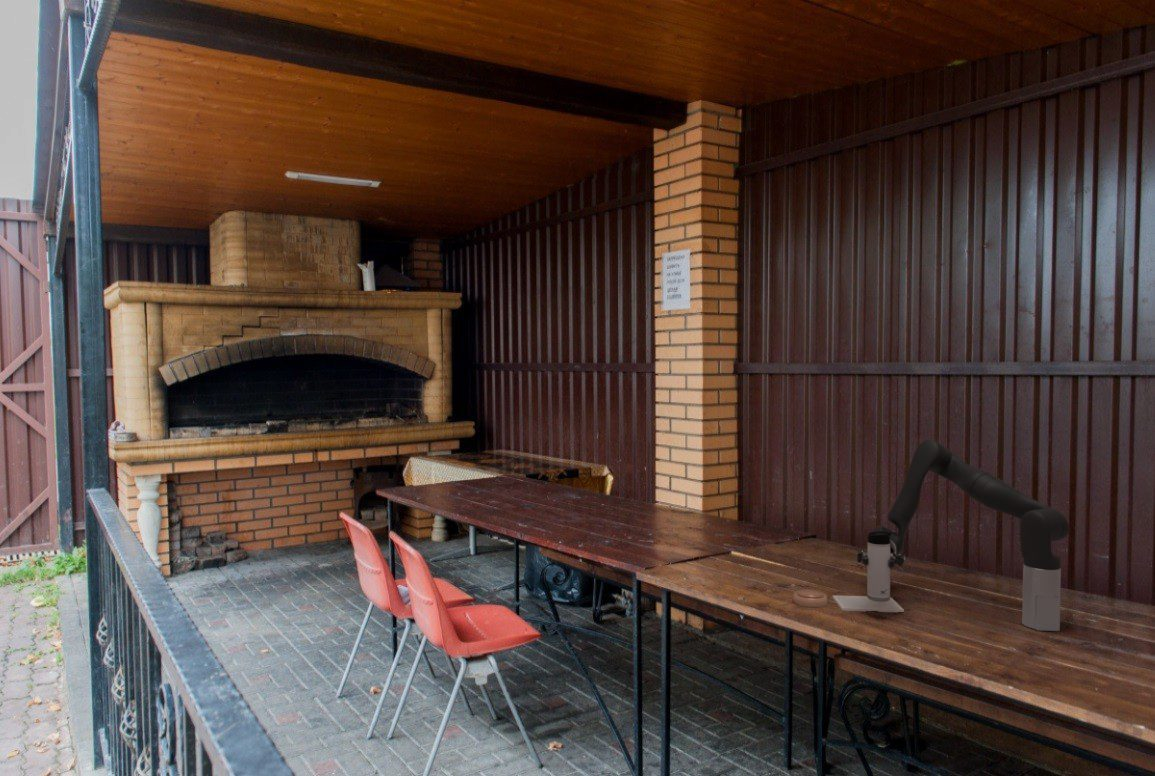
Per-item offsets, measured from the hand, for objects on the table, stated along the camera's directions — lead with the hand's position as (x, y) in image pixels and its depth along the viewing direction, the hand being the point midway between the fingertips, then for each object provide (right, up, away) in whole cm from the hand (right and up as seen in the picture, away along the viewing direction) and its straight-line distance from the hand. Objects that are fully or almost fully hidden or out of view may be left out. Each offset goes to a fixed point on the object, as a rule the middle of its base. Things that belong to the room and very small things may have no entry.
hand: (878, 563), depth 234 cm
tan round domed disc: (-15, -16, +17) cm, 27 cm away
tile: (+2, -16, +14) cm, 21 cm away
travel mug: (+1, -11, +2) cm, 12 cm away
